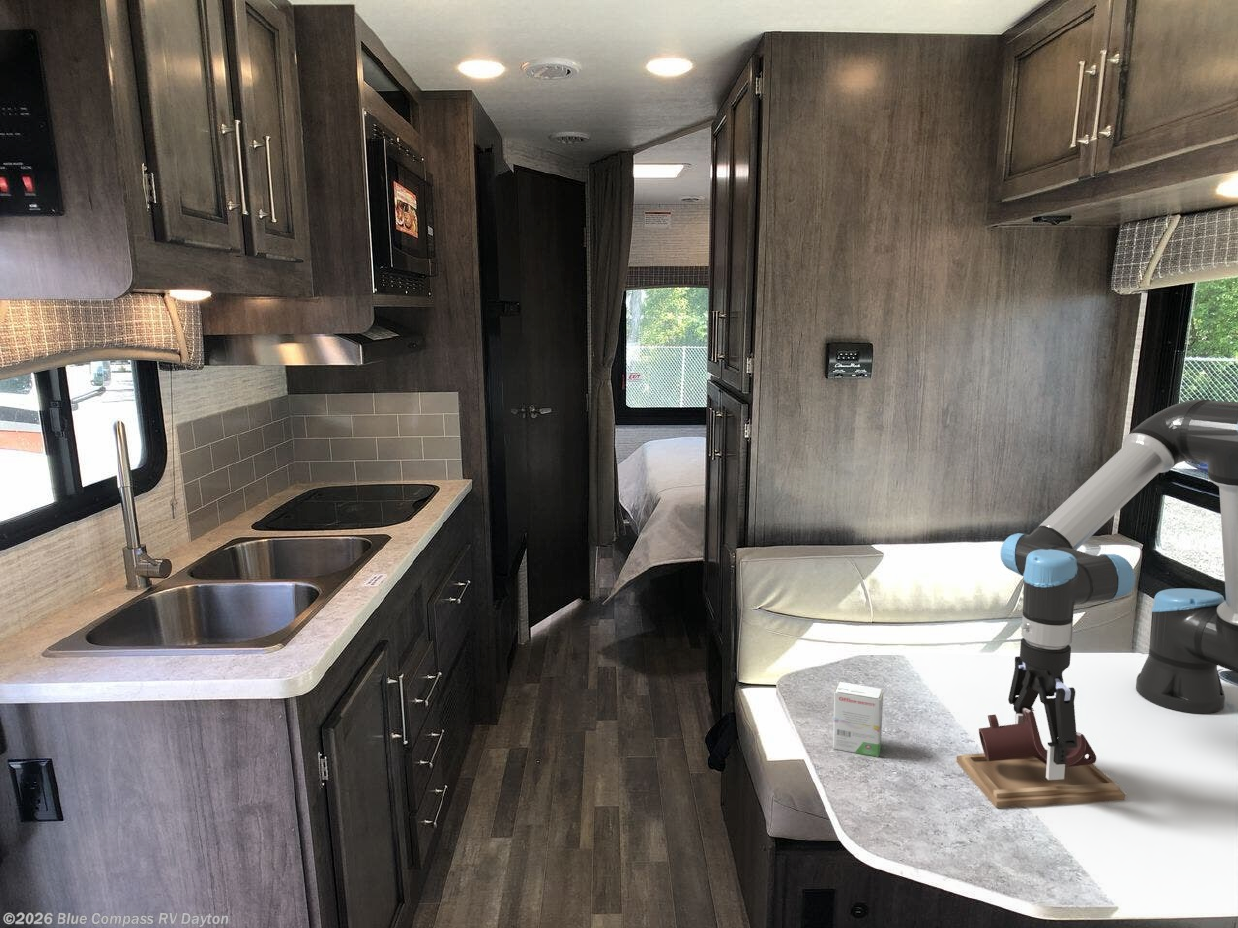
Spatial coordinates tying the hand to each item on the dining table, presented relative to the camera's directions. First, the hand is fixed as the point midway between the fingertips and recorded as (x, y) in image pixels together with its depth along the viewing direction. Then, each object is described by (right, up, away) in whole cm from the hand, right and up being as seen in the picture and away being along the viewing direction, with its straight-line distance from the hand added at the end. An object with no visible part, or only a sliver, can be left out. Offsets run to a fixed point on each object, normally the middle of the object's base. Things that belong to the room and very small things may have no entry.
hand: (1038, 762), depth 136 cm
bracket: (0, 0, +1) cm, 1 cm away
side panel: (0, -3, +1) cm, 3 cm away
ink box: (-28, -2, +13) cm, 31 cm away
